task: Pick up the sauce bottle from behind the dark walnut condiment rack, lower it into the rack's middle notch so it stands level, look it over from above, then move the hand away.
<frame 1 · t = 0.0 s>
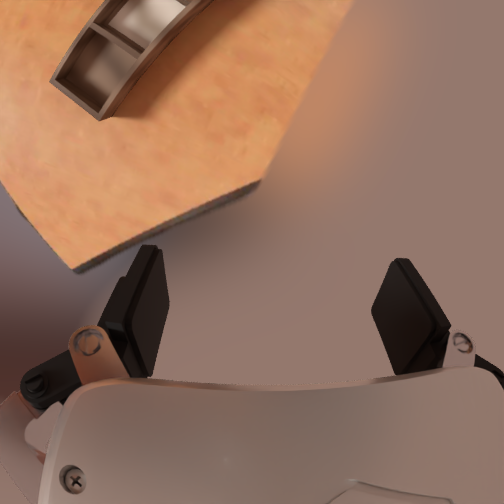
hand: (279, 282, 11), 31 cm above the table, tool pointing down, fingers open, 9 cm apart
walnut rack: (147, 16, 26), on the table
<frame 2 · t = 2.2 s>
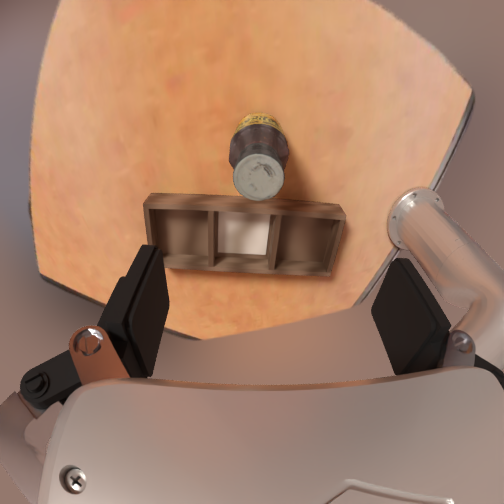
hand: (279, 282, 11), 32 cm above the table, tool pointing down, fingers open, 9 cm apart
sauce bottle: (257, 132, 38), on the table
walnut rack: (243, 229, 47), on the table
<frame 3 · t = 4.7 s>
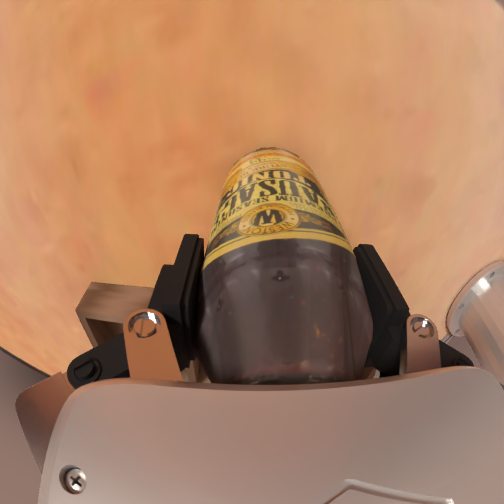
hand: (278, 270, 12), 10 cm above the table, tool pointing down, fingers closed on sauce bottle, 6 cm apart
sauce bottle: (266, 185, 20), on the table, touching gripper
walnut rack: (241, 334, 29), on the table
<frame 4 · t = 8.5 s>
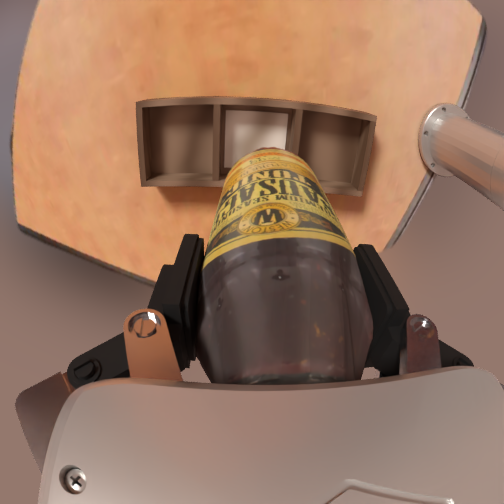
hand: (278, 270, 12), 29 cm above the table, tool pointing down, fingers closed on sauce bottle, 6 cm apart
sauce bottle: (266, 184, 20), point 20 cm above the table, touching gripper
walnut rack: (255, 138, 36), on the table
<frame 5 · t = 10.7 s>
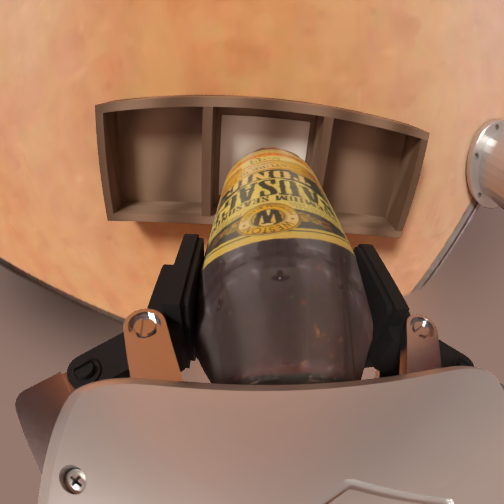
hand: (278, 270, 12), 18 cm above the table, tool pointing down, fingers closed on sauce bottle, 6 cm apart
sauce bottle: (266, 185, 20), point 8 cm above the table, touching gripper
walnut rack: (262, 155, 27), on the table
when the fingers open (12 cm above the table, at t = 12.4 s): sauce bottle drops 1 cm, resting on walnut rack.
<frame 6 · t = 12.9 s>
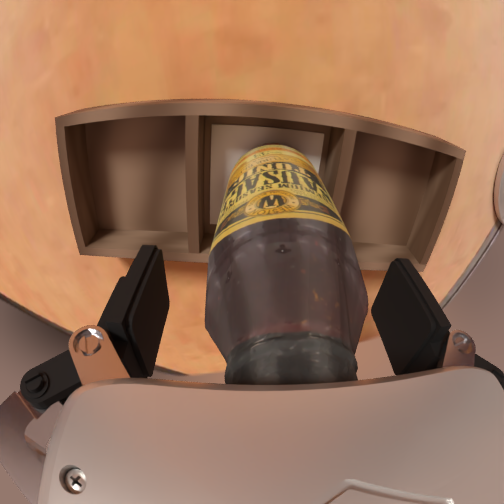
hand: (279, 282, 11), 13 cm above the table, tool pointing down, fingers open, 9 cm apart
sauce bottle: (269, 178, 21), point 1 cm above the table, touching walnut rack
walnut rack: (263, 174, 22), on the table
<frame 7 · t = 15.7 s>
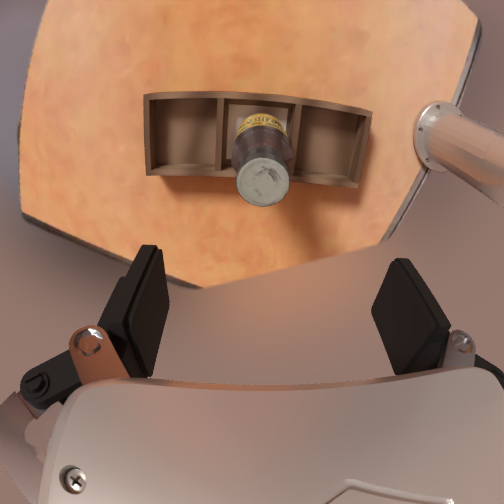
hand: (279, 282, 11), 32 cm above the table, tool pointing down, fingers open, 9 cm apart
sauce bottle: (259, 133, 37), point 1 cm above the table, touching walnut rack
walnut rack: (256, 132, 38), on the table
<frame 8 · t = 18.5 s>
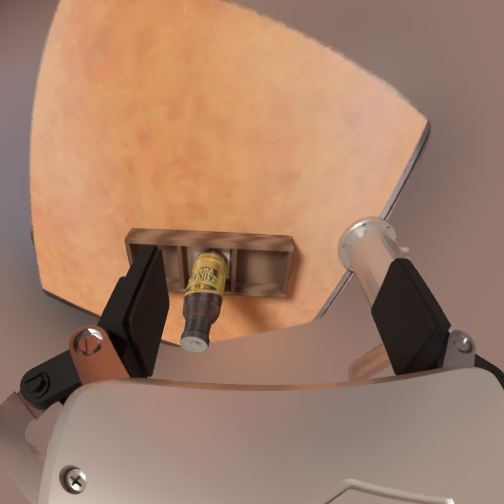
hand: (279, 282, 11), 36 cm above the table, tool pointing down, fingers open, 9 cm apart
sauce bottle: (210, 260, 54), point 1 cm above the table, touching walnut rack
walnut rack: (209, 257, 55), on the table
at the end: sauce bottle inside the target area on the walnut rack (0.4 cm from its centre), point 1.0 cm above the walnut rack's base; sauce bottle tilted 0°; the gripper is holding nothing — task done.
